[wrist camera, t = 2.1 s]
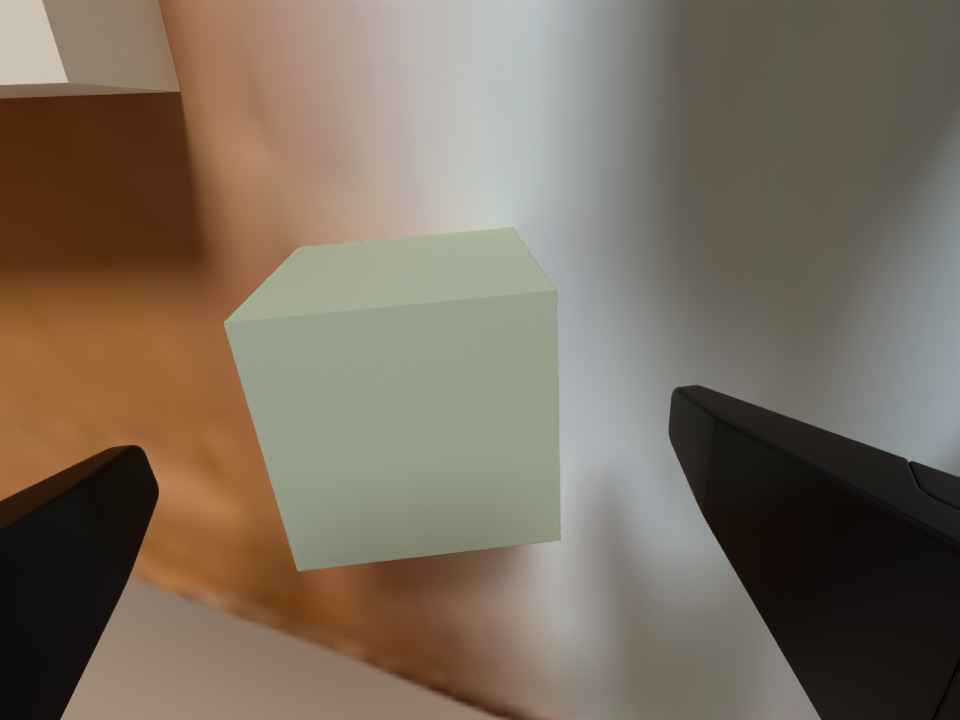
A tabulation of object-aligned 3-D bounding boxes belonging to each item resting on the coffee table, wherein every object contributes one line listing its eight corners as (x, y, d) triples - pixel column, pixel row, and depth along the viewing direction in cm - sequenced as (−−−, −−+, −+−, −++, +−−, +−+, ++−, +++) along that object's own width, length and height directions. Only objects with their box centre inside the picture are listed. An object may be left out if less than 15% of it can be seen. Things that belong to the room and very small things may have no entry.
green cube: (512, 226, 13) (556, 290, 8) (521, 409, 15) (560, 540, 10) (298, 246, 12) (223, 322, 8) (339, 429, 15) (297, 570, 10)
